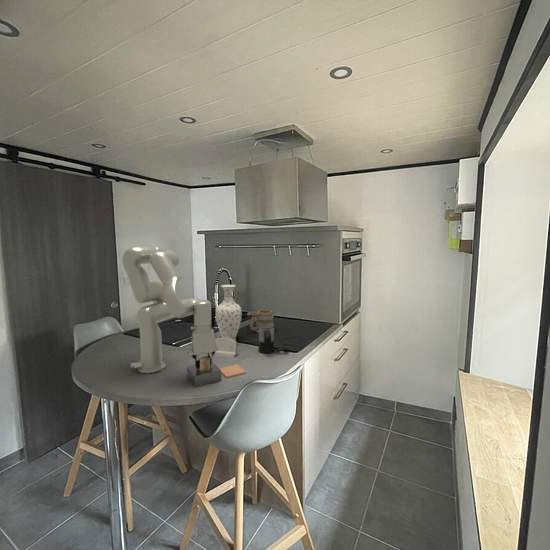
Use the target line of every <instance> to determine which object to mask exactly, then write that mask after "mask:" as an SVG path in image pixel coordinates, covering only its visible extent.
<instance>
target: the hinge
mask: <svg viewBox="0 0 550 550" xmlns="http://www.w3.org/2000/svg"><path fill="white" fill-rule="evenodd" d="M215 344H216V346H217V347H218V348H219V349H218V351H216V352H215V354H214V355H213V356H215V357H216V356H217V357H224V358H225V357H226V358H232V359H234V358H235V357H236V356H238V354H239V352H238V351H239V350H238V347H239V344H238V342H237V341H236V340H232V339H229V338H222V337H215ZM206 355H207V356H208V353H206Z"/></svg>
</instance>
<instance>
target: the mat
mask: <svg viewBox="0 0 550 550" xmlns="http://www.w3.org/2000/svg"><path fill="white" fill-rule="evenodd" d="M218 368H219V367H218ZM219 369H220V370H221V375H223V376H224V378H226V379H229V378H234V377H237V376H241V375H246V374H247V372H246V370H245V369H243V368H242V367H241V366H240V365H239V364H233V365H229V366H225V367H220V368H219Z"/></svg>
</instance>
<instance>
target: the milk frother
mask: <svg viewBox="0 0 550 550" xmlns="http://www.w3.org/2000/svg"><path fill="white" fill-rule="evenodd" d="M258 327H259V333H258V352H259V353H261V354H271V353H274V352H277V351H278V352H279V351H283V352H286V351H287V350H289V347H286V346H282V347H281V348H277V349H275V345H274V343H275V341H274V340H275V338H274V337H275V331H274V329H275V328H274V327H275V325H272V324H261V325H259V326H258ZM285 350H286V351H285Z"/></svg>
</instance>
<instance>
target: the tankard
mask: <svg viewBox="0 0 550 550" xmlns="http://www.w3.org/2000/svg"><path fill="white" fill-rule="evenodd" d="M273 313H274V312H273V310H271V309H261V310H257V311H256V313H255V312H251V311H249V312H247V313H246V315H247V317H250V316H251V320H250V323H249V327H250V329H251V330H252V331H255V332H256V333H258V334H259V327H258V326H259V325H261V324H272V325H274V320H273V319H274V316H275V314H273ZM255 320H256V322H255ZM254 323H255V324H256V326H254ZM274 326H275V325H274ZM274 332H275V328H274Z"/></svg>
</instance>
